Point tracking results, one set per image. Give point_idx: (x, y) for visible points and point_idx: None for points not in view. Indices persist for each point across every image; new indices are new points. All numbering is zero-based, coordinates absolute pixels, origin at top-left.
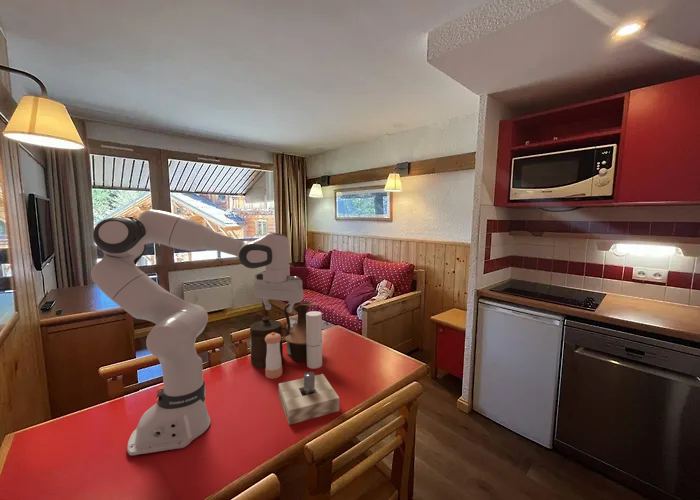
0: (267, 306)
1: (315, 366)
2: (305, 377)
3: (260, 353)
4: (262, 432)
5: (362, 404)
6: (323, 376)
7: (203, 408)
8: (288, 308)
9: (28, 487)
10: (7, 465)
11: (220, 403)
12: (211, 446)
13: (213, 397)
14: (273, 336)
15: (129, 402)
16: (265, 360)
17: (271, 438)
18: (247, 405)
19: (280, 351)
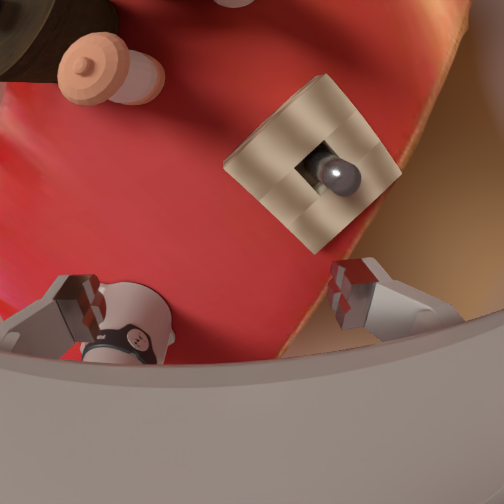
0: (86, 337)
1: (249, 1)
2: (339, 195)
3: None
4: (267, 273)
5: (420, 131)
6: (334, 87)
7: (154, 329)
8: (364, 324)
9: None
10: None
11: (118, 243)
12: (208, 323)
13: (87, 234)
14: (98, 79)
15: (7, 299)
16: None
17: (292, 278)
18: (177, 224)
19: (105, 11)
